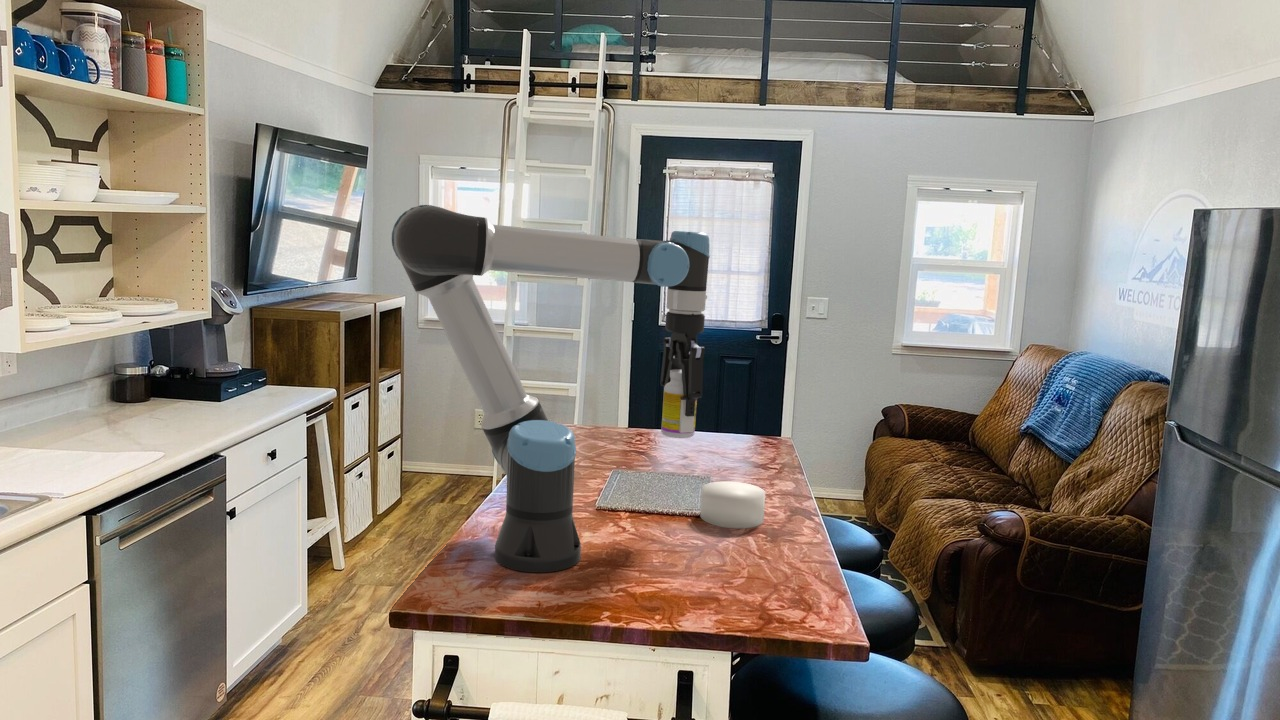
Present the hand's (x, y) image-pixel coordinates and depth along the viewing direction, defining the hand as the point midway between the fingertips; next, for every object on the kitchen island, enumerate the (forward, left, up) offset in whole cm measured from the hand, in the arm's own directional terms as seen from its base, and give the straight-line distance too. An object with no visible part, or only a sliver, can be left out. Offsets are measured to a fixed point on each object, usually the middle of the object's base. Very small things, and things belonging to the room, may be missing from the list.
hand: (678, 427), depth 181 cm
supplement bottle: (0, 0, -2) cm, 2 cm away
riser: (+13, -3, -20) cm, 24 cm away
